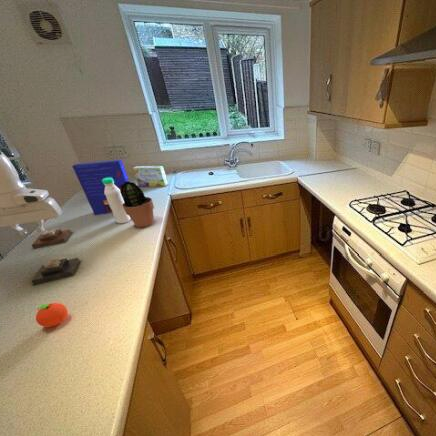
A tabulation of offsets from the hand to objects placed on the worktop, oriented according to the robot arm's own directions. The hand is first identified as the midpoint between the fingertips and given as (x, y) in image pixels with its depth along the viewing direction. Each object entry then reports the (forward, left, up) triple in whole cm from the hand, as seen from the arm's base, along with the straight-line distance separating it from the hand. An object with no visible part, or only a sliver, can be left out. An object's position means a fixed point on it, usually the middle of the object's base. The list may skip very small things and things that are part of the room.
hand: (33, 232), depth 88 cm
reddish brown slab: (-11, +32, -19) cm, 39 cm away
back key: (-11, +32, -16) cm, 37 cm away
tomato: (+8, -30, -19) cm, 37 cm away
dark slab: (0, 0, -19) cm, 19 cm away
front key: (0, 0, -15) cm, 15 cm away
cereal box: (+12, +59, -19) cm, 63 cm away
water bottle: (+18, +40, -19) cm, 48 cm away
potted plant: (+29, +30, -19) cm, 46 cm away
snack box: (+31, +98, -19) cm, 105 cm away
